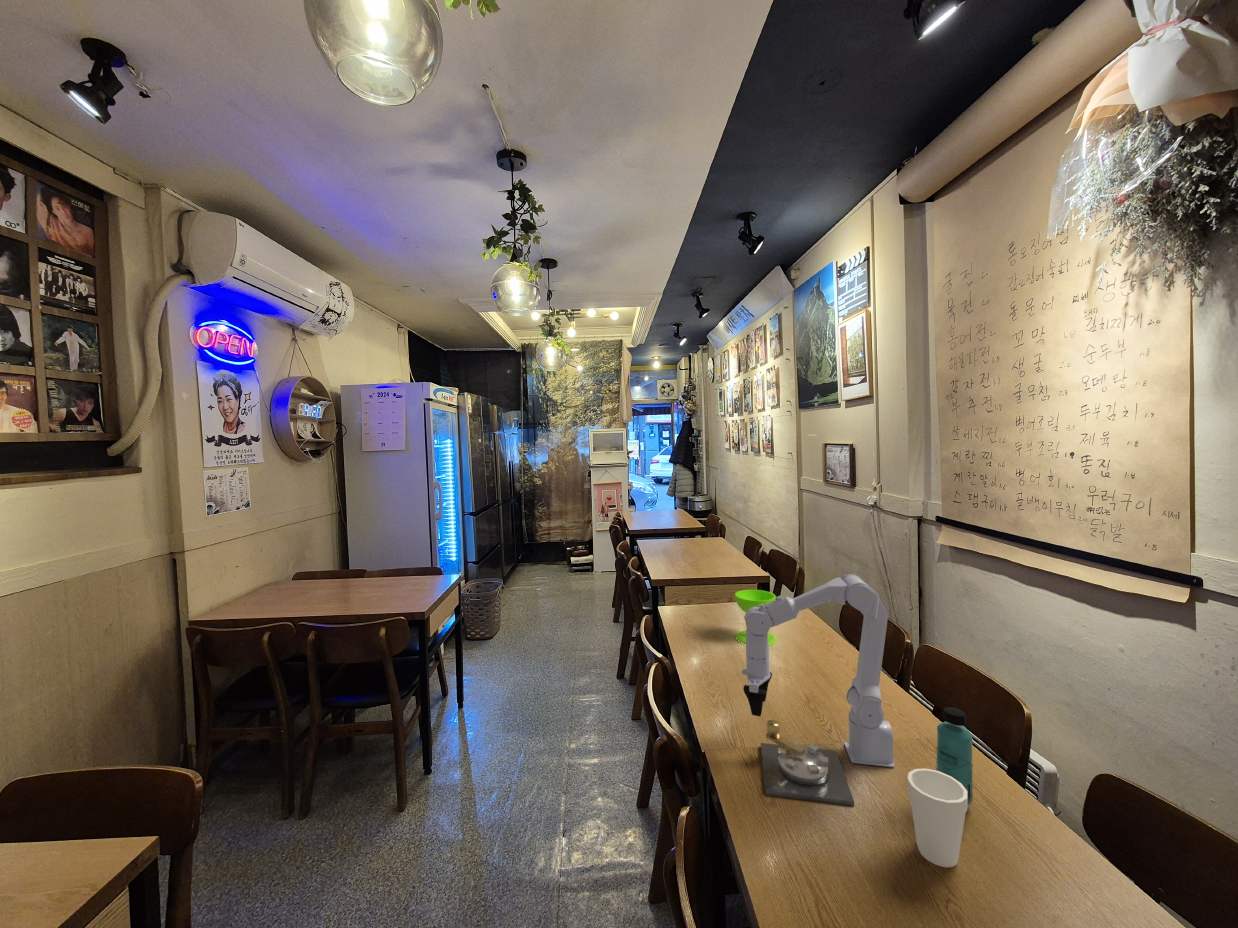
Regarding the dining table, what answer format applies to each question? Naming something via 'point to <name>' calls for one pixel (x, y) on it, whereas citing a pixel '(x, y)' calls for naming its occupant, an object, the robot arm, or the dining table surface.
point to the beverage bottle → (955, 748)
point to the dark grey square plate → (782, 786)
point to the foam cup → (937, 814)
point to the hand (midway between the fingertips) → (758, 707)
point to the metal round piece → (798, 758)
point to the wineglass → (753, 599)
